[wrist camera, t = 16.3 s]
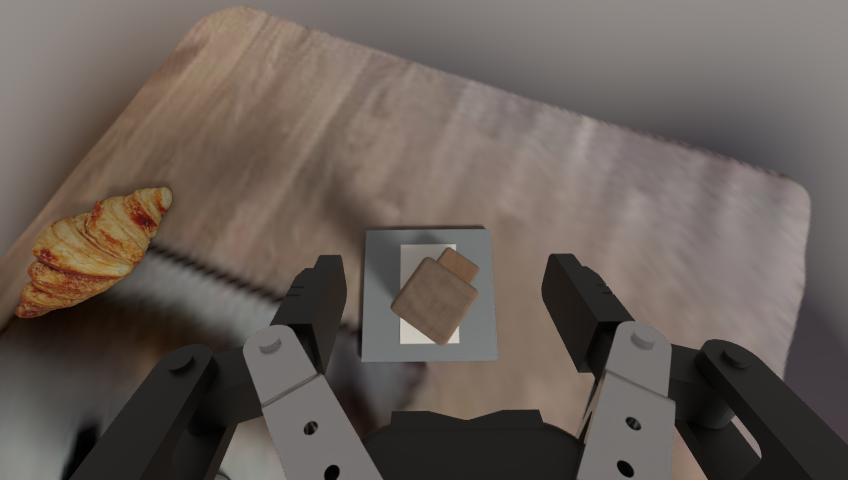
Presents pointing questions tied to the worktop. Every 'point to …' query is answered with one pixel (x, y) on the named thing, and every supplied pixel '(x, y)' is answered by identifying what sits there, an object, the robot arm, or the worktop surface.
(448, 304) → the wooden block
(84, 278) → the croissant
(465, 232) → the socket board
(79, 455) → the worktop surface
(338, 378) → the worktop surface
